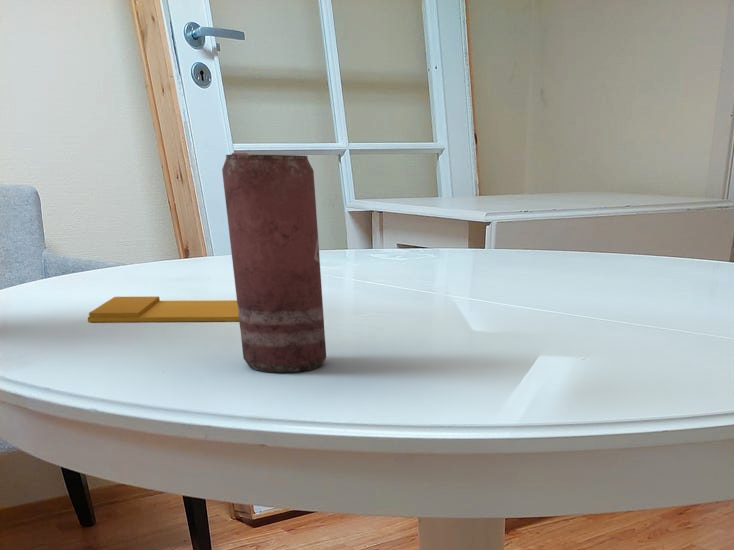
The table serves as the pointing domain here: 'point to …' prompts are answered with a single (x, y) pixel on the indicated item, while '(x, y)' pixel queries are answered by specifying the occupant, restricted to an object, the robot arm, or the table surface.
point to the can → (275, 260)
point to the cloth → (163, 310)
